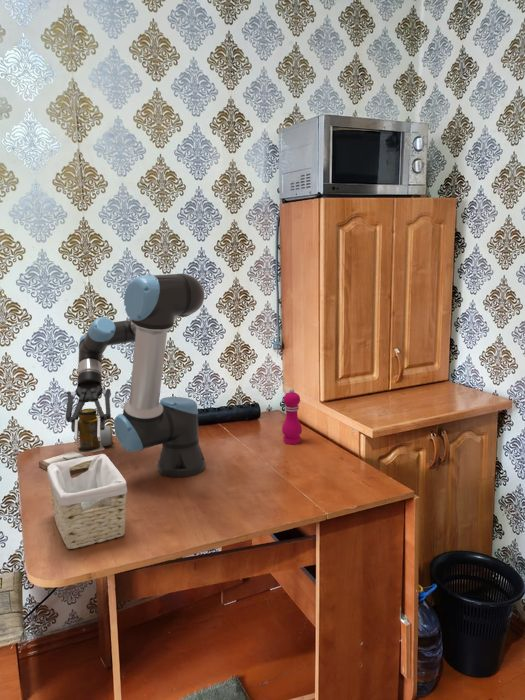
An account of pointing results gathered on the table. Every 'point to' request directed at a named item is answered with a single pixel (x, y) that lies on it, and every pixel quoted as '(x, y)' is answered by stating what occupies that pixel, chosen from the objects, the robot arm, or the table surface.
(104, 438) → the ceramic mug
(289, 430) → the pepper mill
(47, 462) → the writing board
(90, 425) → the condiment
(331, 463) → the table surface
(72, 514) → the storage basket
